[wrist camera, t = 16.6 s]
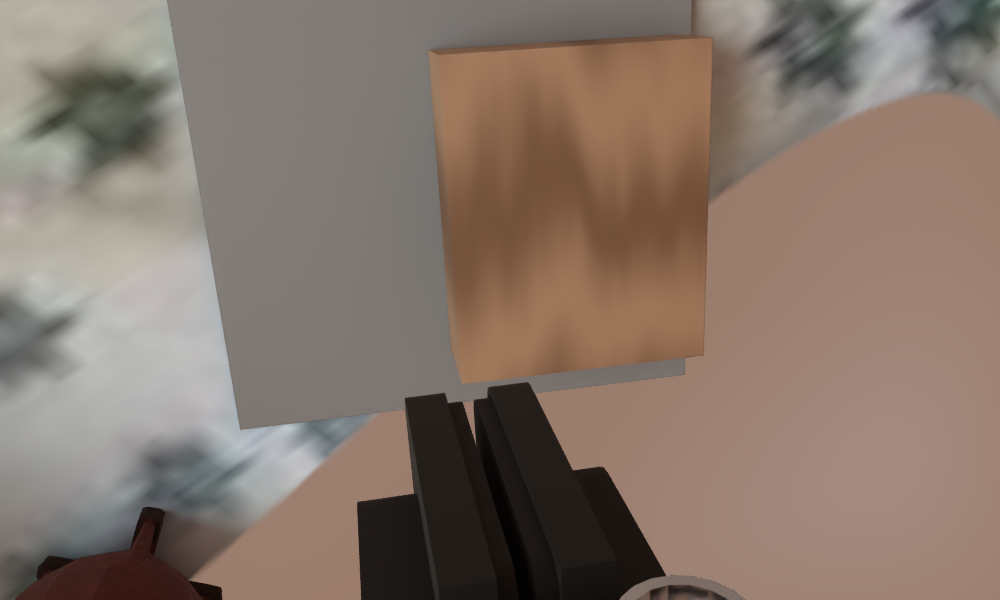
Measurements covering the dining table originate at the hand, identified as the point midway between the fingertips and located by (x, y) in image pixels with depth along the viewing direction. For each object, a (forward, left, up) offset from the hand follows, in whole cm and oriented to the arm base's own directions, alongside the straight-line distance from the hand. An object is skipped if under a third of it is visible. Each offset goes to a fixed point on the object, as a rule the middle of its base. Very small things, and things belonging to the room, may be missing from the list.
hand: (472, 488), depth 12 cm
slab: (0, +1, -16) cm, 16 cm away
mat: (0, +2, -18) cm, 18 cm away
